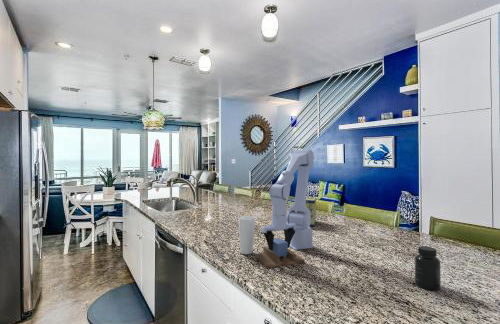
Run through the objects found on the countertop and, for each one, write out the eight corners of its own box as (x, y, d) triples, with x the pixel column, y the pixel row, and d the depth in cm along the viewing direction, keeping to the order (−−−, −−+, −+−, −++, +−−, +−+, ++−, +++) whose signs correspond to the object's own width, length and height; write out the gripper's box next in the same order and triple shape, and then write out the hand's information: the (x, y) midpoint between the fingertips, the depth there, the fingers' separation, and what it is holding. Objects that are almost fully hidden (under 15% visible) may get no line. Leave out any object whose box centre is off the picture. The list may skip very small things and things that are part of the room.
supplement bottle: (430, 280, 88) (430, 244, 88) (445, 291, 81) (446, 252, 81) (409, 281, 88) (410, 244, 88) (423, 291, 81) (424, 252, 81)
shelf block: (287, 255, 105) (287, 242, 105) (277, 257, 103) (277, 244, 103) (279, 250, 110) (279, 238, 110) (269, 252, 108) (270, 239, 108)
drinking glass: (240, 256, 109) (240, 219, 109) (236, 250, 116) (237, 216, 115) (256, 254, 111) (256, 218, 111) (252, 249, 117) (252, 215, 117)
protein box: (296, 225, 158) (296, 199, 158) (299, 220, 173) (299, 196, 173) (314, 227, 155) (314, 200, 155) (315, 221, 170) (316, 196, 170)
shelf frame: (289, 251, 115) (289, 243, 114) (304, 262, 103) (304, 253, 103) (254, 256, 109) (254, 247, 109) (266, 267, 98) (266, 258, 98)
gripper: (288, 210, 113) (288, 243, 113) (258, 214, 106) (258, 247, 107) (299, 214, 106) (298, 248, 107) (267, 217, 100) (266, 253, 100)
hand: (279, 248), depth 106 cm, fingers open, 7 cm apart
